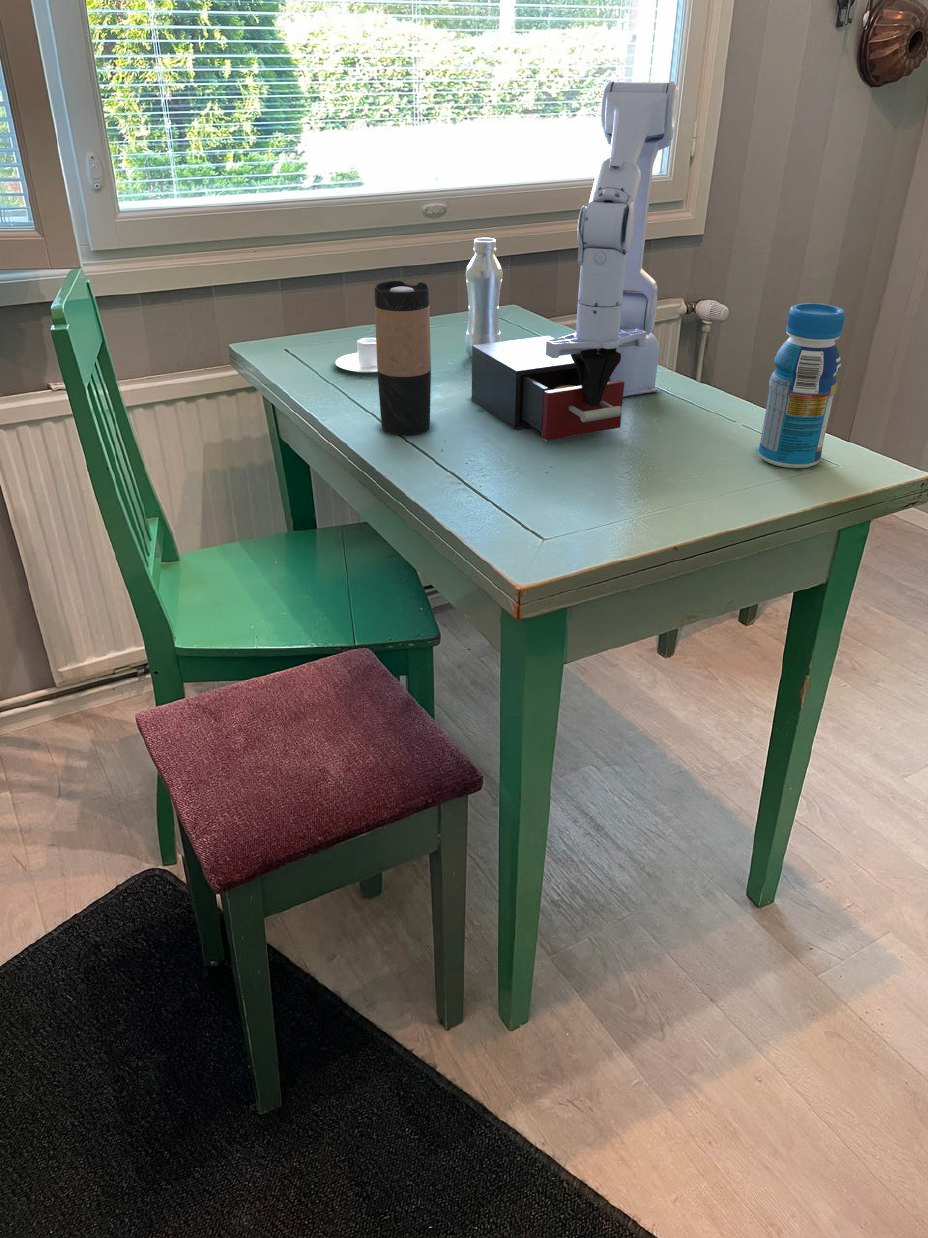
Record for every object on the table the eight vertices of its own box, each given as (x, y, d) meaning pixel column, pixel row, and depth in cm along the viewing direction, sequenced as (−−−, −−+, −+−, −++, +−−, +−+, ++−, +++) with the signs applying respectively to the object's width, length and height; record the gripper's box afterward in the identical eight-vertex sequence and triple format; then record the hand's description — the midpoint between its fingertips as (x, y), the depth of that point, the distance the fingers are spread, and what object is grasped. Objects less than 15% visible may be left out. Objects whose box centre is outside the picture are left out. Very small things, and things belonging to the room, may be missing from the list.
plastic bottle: (507, 356, 169) (511, 238, 159) (488, 365, 164) (491, 244, 154) (477, 350, 172) (479, 234, 161) (457, 359, 167) (458, 240, 157)
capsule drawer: (638, 438, 132) (644, 391, 128) (562, 452, 127) (565, 403, 124) (572, 400, 146) (575, 356, 142) (501, 411, 141) (502, 366, 138)
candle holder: (401, 376, 159) (401, 350, 156) (331, 375, 159) (329, 350, 157) (407, 356, 169) (406, 332, 167) (340, 355, 169) (339, 331, 167)
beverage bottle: (743, 455, 129) (768, 306, 118) (782, 442, 133) (810, 297, 123) (794, 475, 123) (826, 320, 113) (833, 461, 127) (867, 310, 117)
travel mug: (392, 439, 133) (387, 294, 123) (371, 423, 139) (364, 283, 129) (440, 431, 136) (439, 288, 126) (418, 415, 142) (415, 277, 132)
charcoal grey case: (593, 415, 142) (598, 359, 138) (514, 429, 137) (516, 370, 133) (545, 388, 154) (548, 335, 149) (471, 399, 149) (471, 345, 144)
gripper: (567, 314, 117) (561, 419, 124) (663, 303, 122) (652, 404, 129) (539, 302, 122) (535, 403, 129) (633, 292, 127) (623, 390, 134)
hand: (591, 403), depth 129 cm, fingers closed
